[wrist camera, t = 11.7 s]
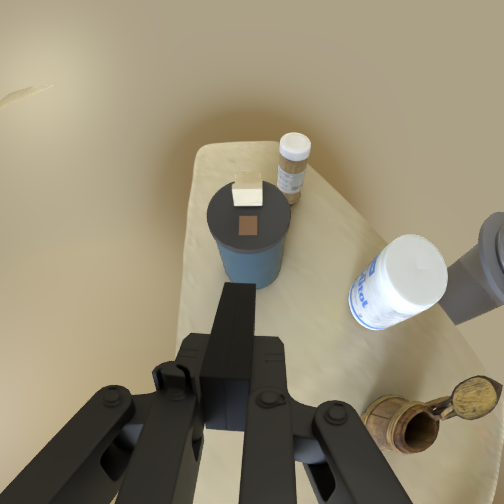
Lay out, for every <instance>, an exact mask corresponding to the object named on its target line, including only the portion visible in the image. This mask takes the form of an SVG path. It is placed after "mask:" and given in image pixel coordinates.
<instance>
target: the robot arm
mask: <svg viewBox="0 0 504 504" xmlns="http://www.w3.org/2000/svg"><path fill="white" fill-rule="evenodd" d="M495 251H496V256H497V260H498V263H499V266H500V268H501V270H502V272H503V274H504V226H503V227H502V228H501V229H499V231H498V232H497V235H496V238H495ZM255 301H256V283H231V282H225V284H224V287H223V291H222V294H221V298H220V301H219V305H218V309H217V312H216V316H215V319H214V323H213V327H212V330H211V334H199V333H190V334H189V335H188V336H187V337H186V338H185V339H183V341H182V344H181V347H180V350H179V352H178V354H177V357H176V359H175V361H169V362H164V363H162V364H160V365H159V366H156V367H155V369H154V370H153V371H152V375H153V379H154V383H155V387H156V391H155V392H153V393H149V394H140V395H131V393H130V391H129V390H128V389H126V388H125V387H123V386H119V385H109V386H106V387H103V388H102V389H100V390H99V391H97V392H96V393H95V394H94V395H93V397H92V398H91V399H90V400H89V401H88V402H87V403H86V404H85V405H84V406H83V407H82V408H81V409H80V410H79V411H78V412H77V413H76V414H75V415H74V416H73V417H72V418H71V419H70V420H69V421H68V423H67V424H66V425H65V426H64V427H63V428H62V429H61V430H60V431H59V432H58V433H57V434H56V435H55V436H54V437H53V438H52V440H50V442H48V444H47V445H46V446H45V447H44V448H43V449H42V450H41V451H40V452H39V453H38V454H37V455H36V456H35V457H34V458H33V459H32V461H31V462H30V463H29V464H28V465H27V466H26V467H25V468H24V469H23V470H22V471H21V472H20V473H19V475H17V477H16V478H15V479H14V480H13V481H12V482H11V483H10V484H9V485H8V486H7V487H6V489H4V491H3V492H2V493H1V494H0V504H110V503H111V501H112V500H113V498H114V497H115V496H116V494H117V493H118V495H117V499H116V501H115V504H193V498H194V493H195V487H196V482H197V476H198V471H199V465H200V460H201V454H202V449H203V444H204V435H203V429H204V424H205V425H206V429H216V430H228V431H244V444H243V456H242V468H241V480H240V492H239V504H297V496H296V476H295V461H299V462H302V463H303V466H304V468H305V471H306V473H307V476H308V478H309V481H310V483H311V486H312V488H313V491H314V493H315V495H316V498H317V500H318V503H319V504H413V503H412V501H411V500H410V498H409V496H408V495H407V493H406V491H405V490H404V488H403V487H402V485H401V483H400V482H399V480H398V478H397V477H396V475H395V474H394V472H393V470H392V469H391V467H390V465H389V464H388V462H387V461H386V459H385V457H384V456H383V454H382V452H381V451H380V449H379V448H378V446H377V444H376V443H375V441H374V439H373V438H372V436H371V435H370V433H369V431H368V430H367V428H366V426H365V425H364V423H363V422H362V420H361V418H360V417H359V415H358V414H357V412H356V410H355V409H354V408H353V407H352V406H351V405H349V404H347V403H345V402H343V401H337V400H333V401H327V402H324V403H322V404H320V405H319V406H318V407H317V408H316V407H312V406H307V405H304V404H301V403H299V402H297V401H295V400H294V399H293V398H292V397H291V396H290V394H289V393H288V389H287V378H286V365H285V352H284V344H283V343H282V341H281V340H280V339H279V337H271V336H254V330H255ZM118 491H119V492H118Z"/></svg>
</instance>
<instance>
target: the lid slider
mask: <svg viewBox="0 0 504 504" xmlns="http://www.w3.org/2000/svg"><path fill="white" fill-rule="evenodd" d="M232 193H233V200H234V206H262V205H263V193H262V172H236V173H235V184H232Z"/></svg>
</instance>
